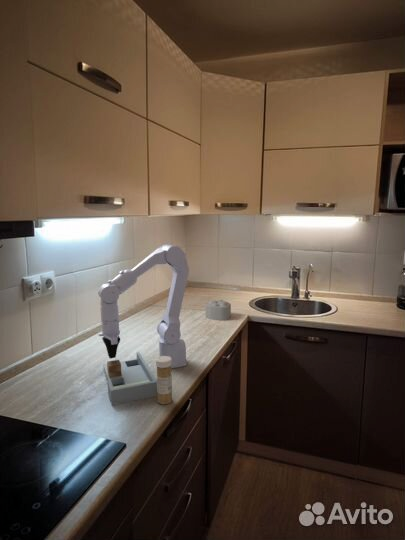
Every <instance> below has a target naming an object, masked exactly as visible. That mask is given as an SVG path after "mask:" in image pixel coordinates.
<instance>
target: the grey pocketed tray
mask: <svg viewBox="0 0 405 540" xmlns="http://www.w3.org/2000/svg"><path fill="white" fill-rule="evenodd" d="M120 363H121V373H122V376H117V377H112V378H109V375H108V370H107V363H106V364H103V365H102V366H103V367H102V368H103V372H104V374H105V378H106V382H107V394H108V398H109V401H110V404H111V406H113V405H119V404H123V403H128V402H133V401H138V400H142V399H147V398H151V397H158V391H157V377H155V375H154V374H153V372H152V370H151V369H150V367H149V366H148V364H147V362H146V361H145V359H144V357H143V356H142V354H141V352H139V351H137V352H136V358H135V359H130V360H123V361H120Z"/></svg>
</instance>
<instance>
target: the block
mask: <svg viewBox="0 0 405 540" xmlns="http://www.w3.org/2000/svg"><path fill="white" fill-rule="evenodd" d="M120 362H121V361H120V359H117V360H116V359H115V360H110V361H108V360H107V362H106V364H107V370H108V375H109V378H112V377H117V376H122V373H121V363H120Z"/></svg>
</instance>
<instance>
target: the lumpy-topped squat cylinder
mask: <svg viewBox="0 0 405 540" xmlns="http://www.w3.org/2000/svg"><path fill="white" fill-rule="evenodd" d="M231 306H232V305H231V303H230V302H228V301H224V300H223V299H218V300H216V299H212V300H210V301H207V302H206V303H205V318H206V319H208V320H212V321H218V322H219V321H220V322H222V321H223V322H224V321H228V320H229V319H230V318H231V316H232V311H231V310H232V307H231Z"/></svg>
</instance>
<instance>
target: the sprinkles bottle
mask: <svg viewBox="0 0 405 540" xmlns="http://www.w3.org/2000/svg"><path fill="white" fill-rule="evenodd" d="M155 366H156V380H157V391H158V395H157V403H159V404H160V405H168V404H171V403H172V401H173V375H172V368H171V366H172V359H171V357H169V356H160V357H159V356H158V357H156V359H155Z"/></svg>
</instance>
